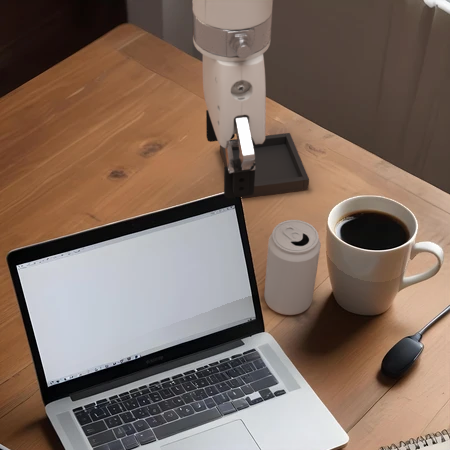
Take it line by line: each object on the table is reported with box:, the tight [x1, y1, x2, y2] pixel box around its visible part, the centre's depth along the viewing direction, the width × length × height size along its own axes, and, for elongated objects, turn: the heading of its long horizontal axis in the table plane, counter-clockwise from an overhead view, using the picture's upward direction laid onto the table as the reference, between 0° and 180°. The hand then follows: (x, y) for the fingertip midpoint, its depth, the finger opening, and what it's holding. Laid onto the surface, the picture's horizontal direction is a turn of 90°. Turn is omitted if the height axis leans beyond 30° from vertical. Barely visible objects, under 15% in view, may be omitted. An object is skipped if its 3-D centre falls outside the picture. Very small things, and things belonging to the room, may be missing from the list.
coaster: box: [219, 132, 310, 199], centre depth 126 cm, size 11×11×2 cm
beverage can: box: [263, 219, 322, 316], centre depth 106 cm, size 6×6×12 cm
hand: (229, 166), depth 93 cm, fingers open, 9 cm apart
